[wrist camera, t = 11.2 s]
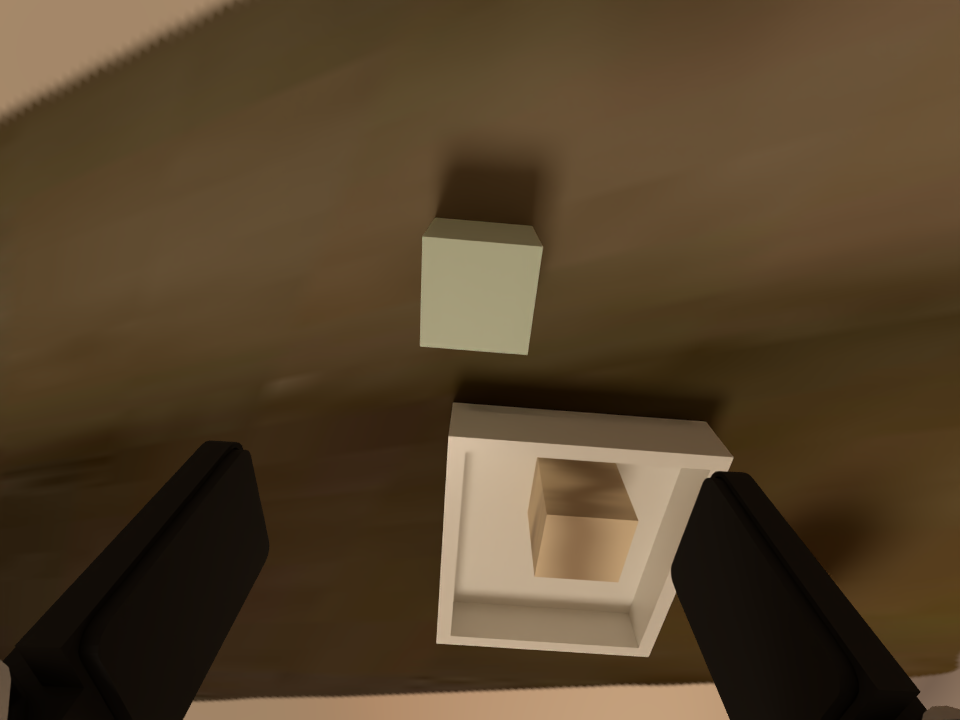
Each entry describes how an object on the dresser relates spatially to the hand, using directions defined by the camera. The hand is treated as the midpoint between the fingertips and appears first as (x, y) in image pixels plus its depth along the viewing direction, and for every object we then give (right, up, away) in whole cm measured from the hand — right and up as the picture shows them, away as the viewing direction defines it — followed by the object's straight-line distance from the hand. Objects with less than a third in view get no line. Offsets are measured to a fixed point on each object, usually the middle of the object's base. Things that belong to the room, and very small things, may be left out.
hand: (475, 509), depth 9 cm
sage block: (0, +8, +14) cm, 17 cm away
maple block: (+6, -5, +20) cm, 22 cm away
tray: (+6, -9, +23) cm, 25 cm away
